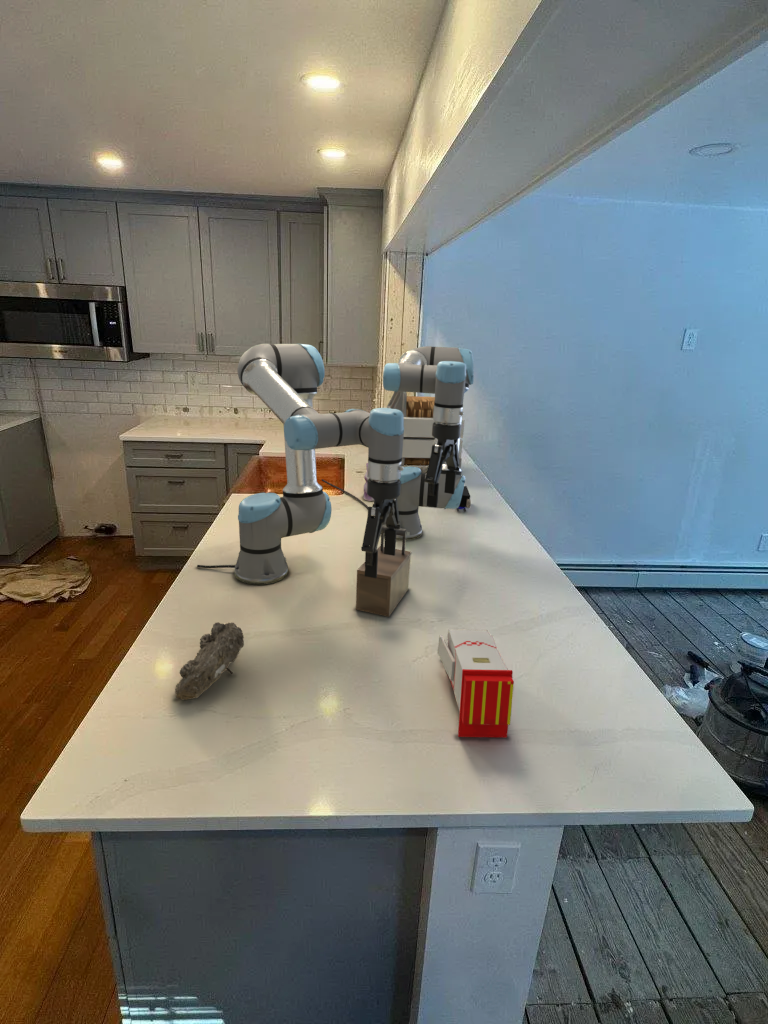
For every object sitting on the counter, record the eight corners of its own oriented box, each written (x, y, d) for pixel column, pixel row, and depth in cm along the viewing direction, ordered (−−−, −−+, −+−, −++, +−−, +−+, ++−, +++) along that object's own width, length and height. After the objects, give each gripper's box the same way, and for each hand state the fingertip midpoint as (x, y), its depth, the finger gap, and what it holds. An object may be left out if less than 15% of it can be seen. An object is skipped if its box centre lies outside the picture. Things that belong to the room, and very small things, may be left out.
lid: (379, 549, 160) (381, 521, 158) (411, 554, 158) (412, 527, 155) (356, 573, 145) (357, 543, 142) (390, 580, 142) (392, 549, 140)
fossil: (197, 625, 130) (244, 594, 125) (226, 653, 133) (272, 624, 128) (153, 694, 111) (206, 661, 106) (188, 725, 114) (241, 695, 109)
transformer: (382, 463, 289) (386, 382, 275) (445, 464, 293) (451, 384, 279) (390, 482, 257) (394, 392, 243) (460, 483, 261) (468, 394, 247)
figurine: (367, 502, 230) (368, 467, 225) (357, 495, 238) (358, 460, 233) (388, 500, 234) (389, 465, 229) (377, 492, 242) (378, 458, 237)
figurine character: (470, 516, 223) (465, 500, 237) (473, 499, 220) (467, 484, 233) (453, 516, 223) (449, 500, 236) (455, 498, 220) (451, 483, 233)
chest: (377, 583, 163) (379, 550, 160) (408, 589, 161) (410, 555, 157) (355, 609, 149) (356, 573, 145) (389, 616, 146) (390, 580, 142)
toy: (488, 613, 130) (523, 677, 101) (484, 667, 133) (517, 744, 104) (435, 612, 130) (455, 676, 101) (432, 666, 133) (451, 743, 103)
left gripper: (382, 496, 115) (378, 590, 122) (415, 467, 137) (410, 548, 144) (347, 491, 117) (345, 584, 124) (386, 464, 139) (382, 543, 146)
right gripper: (444, 432, 136) (437, 515, 143) (475, 417, 157) (468, 490, 165) (415, 428, 139) (410, 509, 146) (449, 414, 160) (443, 486, 167)
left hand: (380, 565), depth 134 cm, fingers open, 13 cm apart
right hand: (440, 499), depth 155 cm, fingers open, 13 cm apart
